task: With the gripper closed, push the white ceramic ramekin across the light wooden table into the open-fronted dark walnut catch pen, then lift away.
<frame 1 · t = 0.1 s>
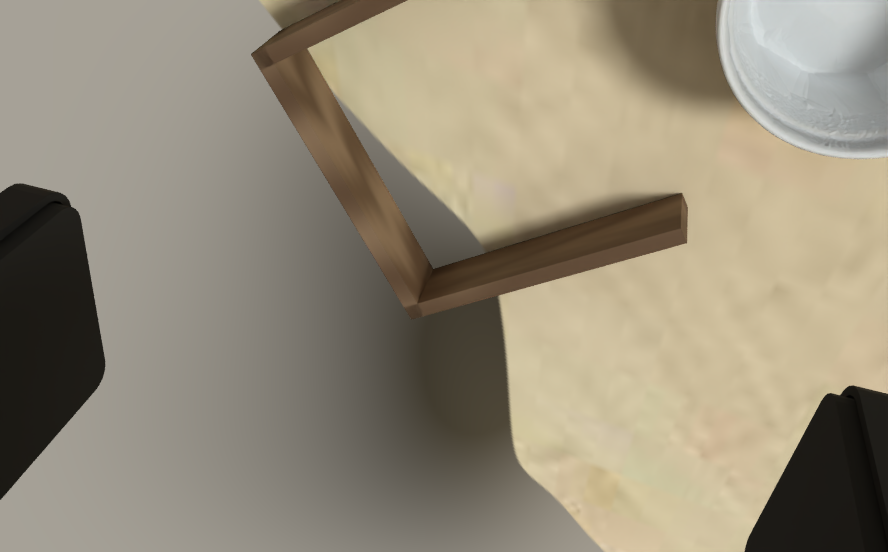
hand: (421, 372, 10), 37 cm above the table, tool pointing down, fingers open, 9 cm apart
catch pen: (491, 116, 49), on the table
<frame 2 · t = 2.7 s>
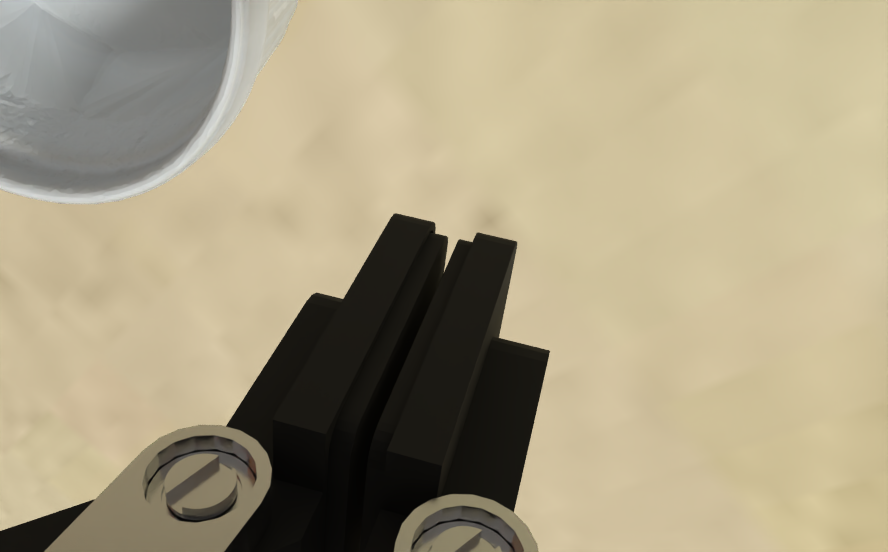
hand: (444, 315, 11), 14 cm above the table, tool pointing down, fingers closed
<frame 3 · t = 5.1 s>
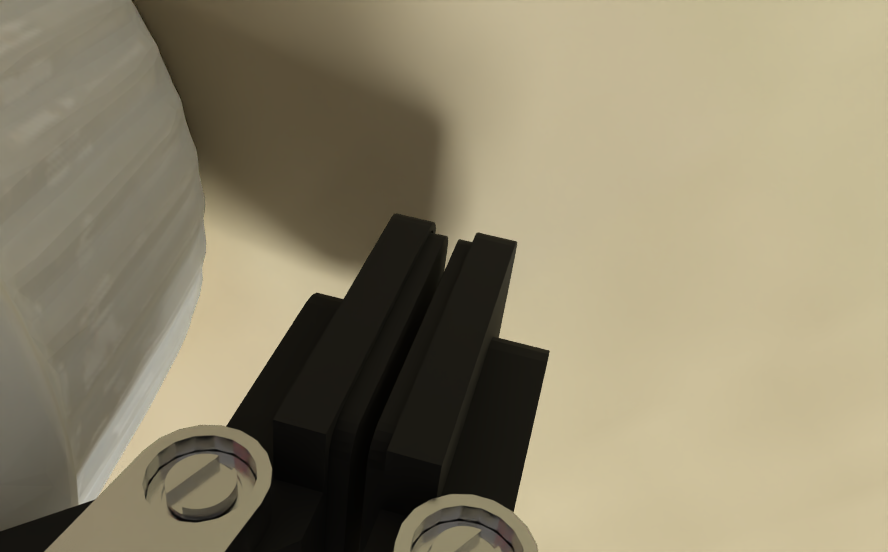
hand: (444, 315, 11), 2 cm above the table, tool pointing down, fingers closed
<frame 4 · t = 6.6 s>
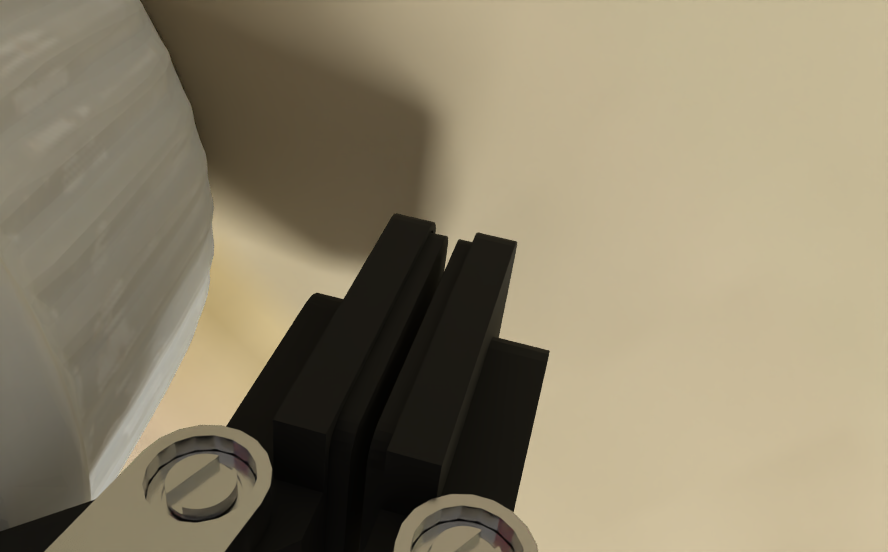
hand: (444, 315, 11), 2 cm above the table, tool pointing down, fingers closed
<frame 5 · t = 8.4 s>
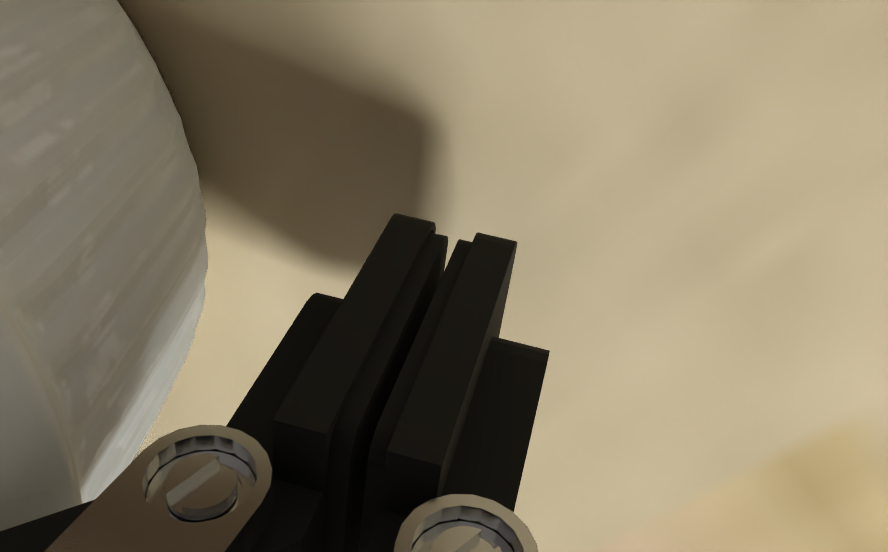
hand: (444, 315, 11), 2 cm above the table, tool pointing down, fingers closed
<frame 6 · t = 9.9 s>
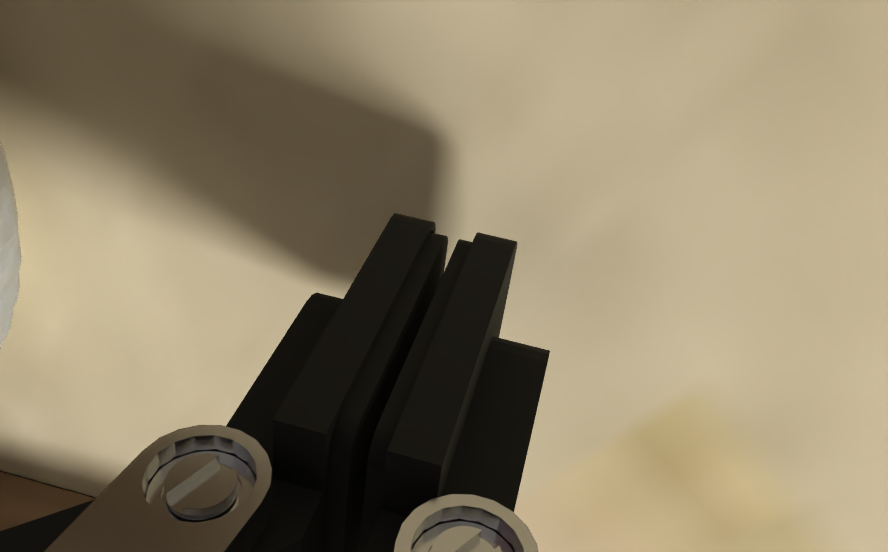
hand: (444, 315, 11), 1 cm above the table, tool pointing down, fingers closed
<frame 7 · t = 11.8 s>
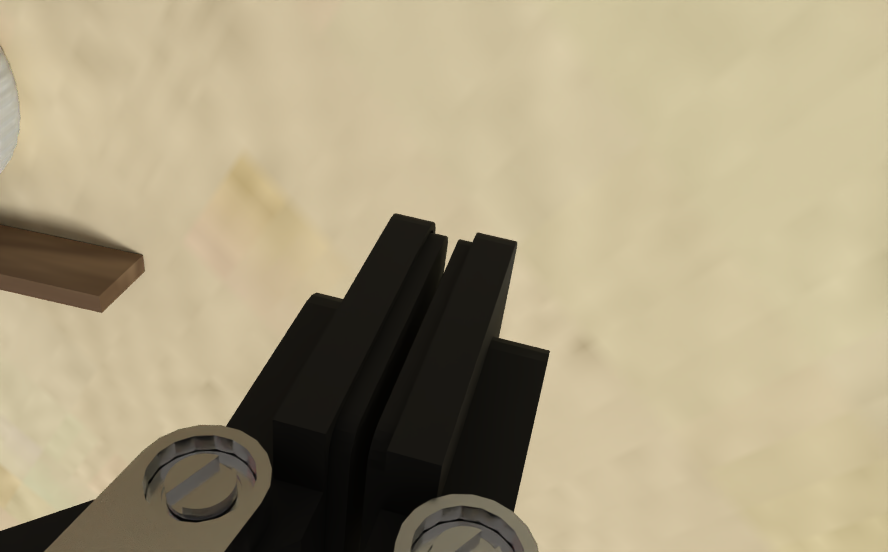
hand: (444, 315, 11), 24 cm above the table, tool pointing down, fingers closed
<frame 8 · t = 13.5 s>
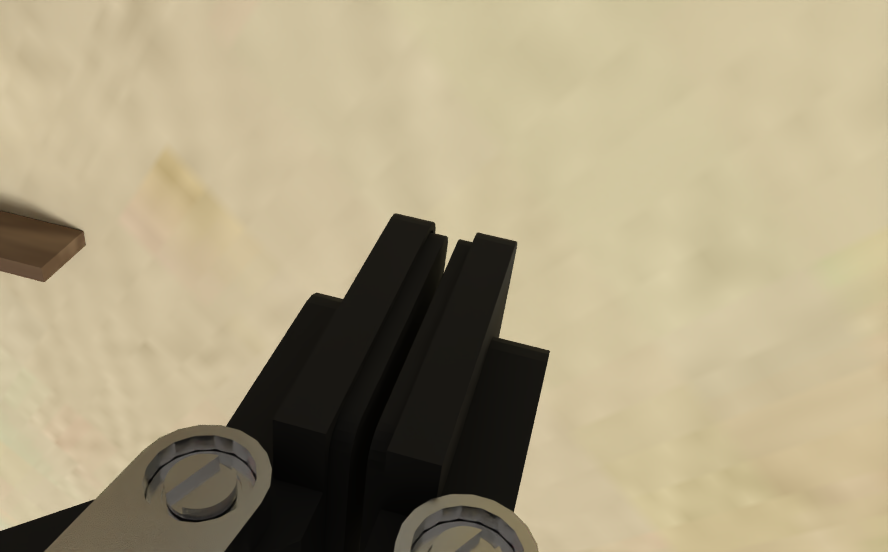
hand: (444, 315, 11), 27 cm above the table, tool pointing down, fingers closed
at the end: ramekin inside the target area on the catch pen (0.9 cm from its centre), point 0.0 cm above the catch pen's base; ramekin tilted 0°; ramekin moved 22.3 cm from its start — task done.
